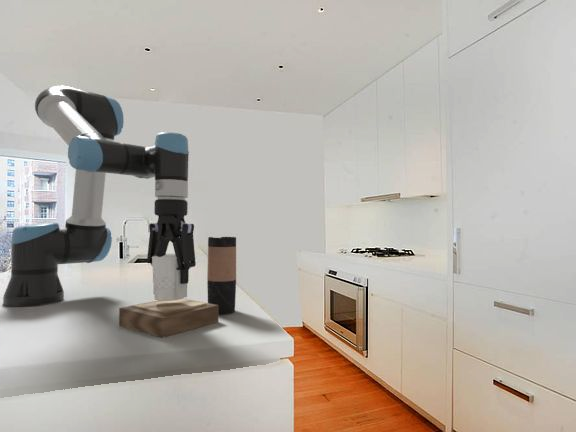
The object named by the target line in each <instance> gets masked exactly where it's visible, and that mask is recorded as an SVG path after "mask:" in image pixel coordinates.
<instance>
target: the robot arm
mask: <svg viewBox="0 0 576 432" xmlns="http://www.w3.org/2000/svg"><path fill="white" fill-rule="evenodd" d="M34 109H35V113H36V115H37V117H38V118H39V119H40V121H41V122H42V123H43V124H45V125H46V126H47V127H49V128H53V130H54V131H55V132H56V133H57V134H58V135H59V136H60V138H61V139H62V140H63V141H64V142H65V143H66V145H67V146H68V147H67V148H68V149H67V158H68V162H69V165H70V166H71V167H72V168H73V169H75V172H74V176H75V177H74V185H73V196H72V197H73V198H72V206H71V207H72V208H71V216H69V217H68V218H67V219H66V220H65V226H60V225H59V223H58V222H45V223H35V224H26V225H20V226H17V227H15V228H14V229H13V231H12V236H11V241H10V245H11V259H10V261H11V263H10V264H11V266H10V267H11V268H10V269H11V270H10V273H11V275H10V279H9V282H8V285H7V286H6V289H5V291H4V293H3V297H2V300H3V301H2V305H4V306H6V307H7V306H8V307H30V306H41V305H42V306H43V305H49V304H54V303H57V302H61V301H63V300H64V299H65V292H64V289H63V285H62V283H61V280H60V277H59V274H58V272H59V271H58V269H59V265H67V264H69V265H70V264H84V263H86V264H89V263H94V262H102V261H103V260H104V259H105V258H107V256H108V255H109V252H110V250H111V246H112V242H113V240H112V239H113V238H112V231H111V229H110V228H109V227H107V226H106V225H107V223H106V221H105V220H104V219H103V218H102V217H103V205H104V194H105V183H106V176H107V175H106V173H107V174H114V175H123V176H133V177H135V178H138V179H147V180H148V179H151V178H152V179H153V178H154V181H155V182H154V186H155V187H154V197H155V198H157V199H155V201H154V212H153V213H154V215H155V216H157V222H155V223H153V222H152V223H149V225H148V226H149V227H148V228H149V238H148V248H147V257H146V262H147V264H149V265H151V266H152V256H158V257H162V256H164V255H167V252H168V251H167V250H168V247H169V243H172V247H173V251H174V255H176V257H177V263H178V268H176V299H179V298H183V299H186V298H187V297H188V284H189V277H190V276H189V275H190V274H189V272H190V269H191V268H194V267H196V253H195V243H194V242H195V240H194V230H195V229H194V228H195V225H194V223H187V222H186V220H185V216H187V215H188V204H189V203H188V200H186V199H187V198H189V182H188V181H189V180H188V179H189V153H190V151H189V141H188V140H189V139H188V137H187V136H186V135H183V134H182V133H178V132H159V133H157V134H156V136H155V142H154V145H153V146H142V145H136V144H130V143H125V142H124V143H123V142H119V141H115V137H116V136H119V135H120V134H121V133H122V130H123V128H124V112H123V108H122V106H121V104H120V102H118V101H117V100H116V99H115V98H112V97H109V96H107V95H104V94H99V93H94V92H92V91H87V90H83V89H82V90H81V89H78V88H74V87H70V86H65V85H60V86H59V85H56V86H51V87H48V88H46V89H44V90H43V91H41V92H40V93H39V94H38V95H37V97H36V99H35V102H34ZM183 262H184V264H183ZM152 289H153V291H152V292H153V293H152V294H153V295H154V287H153V288H152Z"/></svg>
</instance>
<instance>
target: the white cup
mask: <svg viewBox="0 0 576 432" xmlns="http://www.w3.org/2000/svg"><path fill="white" fill-rule="evenodd" d="M183 264H184V262H183ZM151 266H152V284H153V286H152V287H153V288H154V294H153V297H154V300H155V301H173V300H180V299H184V298H179V299H176V268H178V263H177V257H176V255H175V254H166V255H164V256H162V257H158V256H152V265H151Z"/></svg>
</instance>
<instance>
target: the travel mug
mask: <svg viewBox="0 0 576 432" xmlns="http://www.w3.org/2000/svg"><path fill="white" fill-rule="evenodd" d="M206 281H207V283H206V285H207V288H206V289H207V303H210V304H215V305H219V316H223V315H231V314H234V313H235V312H236V296H237V295H236V293H237V237H236V236H221V237H213V236H208V237H207V280H206Z"/></svg>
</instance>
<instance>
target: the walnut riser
mask: <svg viewBox="0 0 576 432" xmlns="http://www.w3.org/2000/svg"><path fill="white" fill-rule="evenodd" d="M118 310H119V311H118V314H119V315H118V326H121V327H123V328H126V329H131V330H134V331H139V332H140V333H141V332H142V333H145V334H149V335H153V336H156V337H160V338H166V337H169V336H172V335H176V334H180V333H183V332H186V331H191V330H194V329H198V328H200V327H205V326H208V325H212V324H215V323H218V322H219V317H220V315H219V305H215V304H210V303H208V302H202V301H198V300H193V299H186V298H183V299H180V300H173V301H158V300H155V301H148V302H142V303H138V304H133V305H129V306H123V307H119V308H118Z"/></svg>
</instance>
